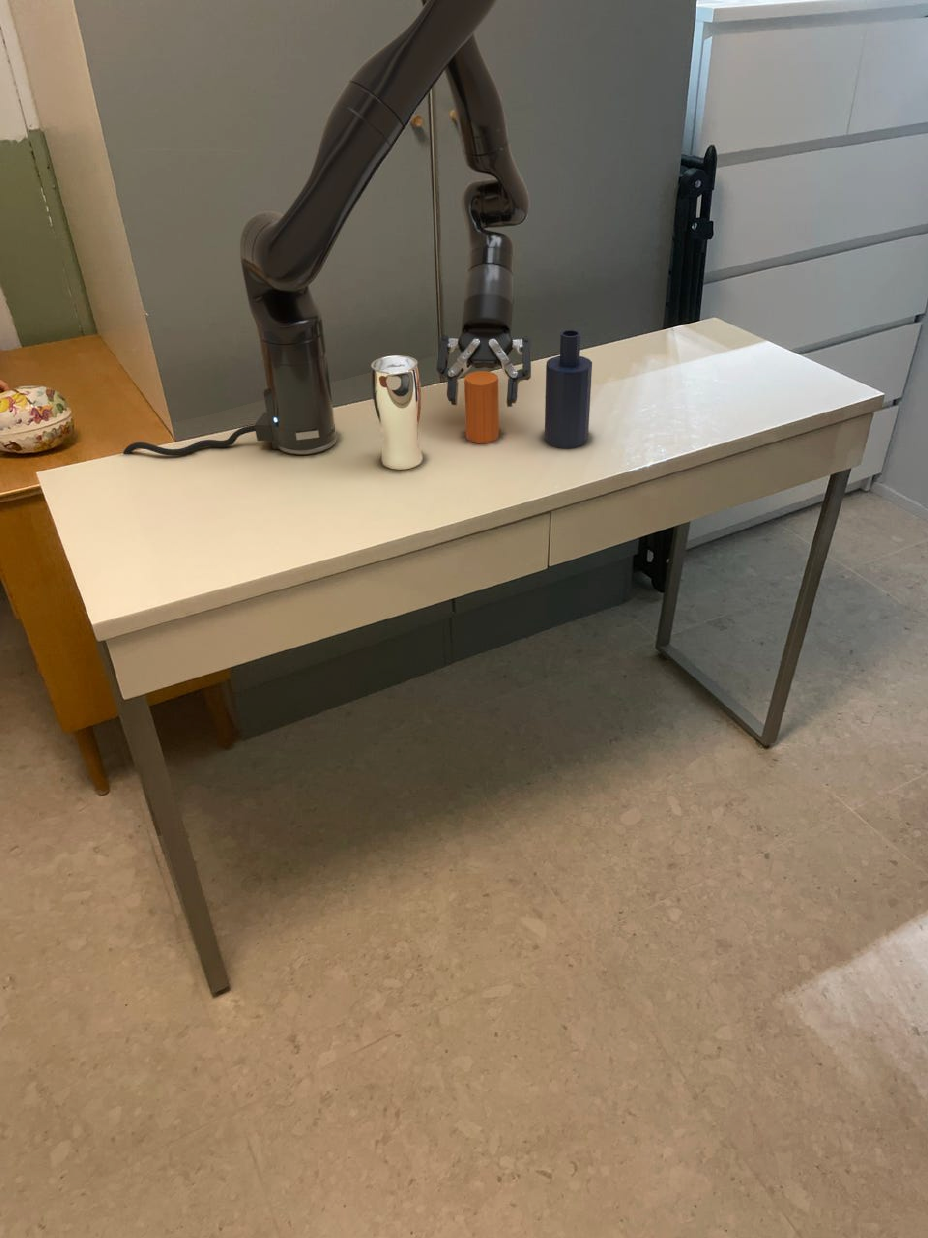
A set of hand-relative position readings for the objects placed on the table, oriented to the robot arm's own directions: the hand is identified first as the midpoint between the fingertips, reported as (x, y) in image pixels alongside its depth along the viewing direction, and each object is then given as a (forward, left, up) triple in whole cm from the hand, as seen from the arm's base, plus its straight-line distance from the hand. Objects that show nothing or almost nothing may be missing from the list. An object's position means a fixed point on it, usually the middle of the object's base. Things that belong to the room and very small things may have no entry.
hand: (481, 404), depth 141 cm
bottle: (+13, 0, -5) cm, 14 cm away
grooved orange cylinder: (0, 0, -5) cm, 5 cm away
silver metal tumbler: (-11, -9, -6) cm, 15 cm away
